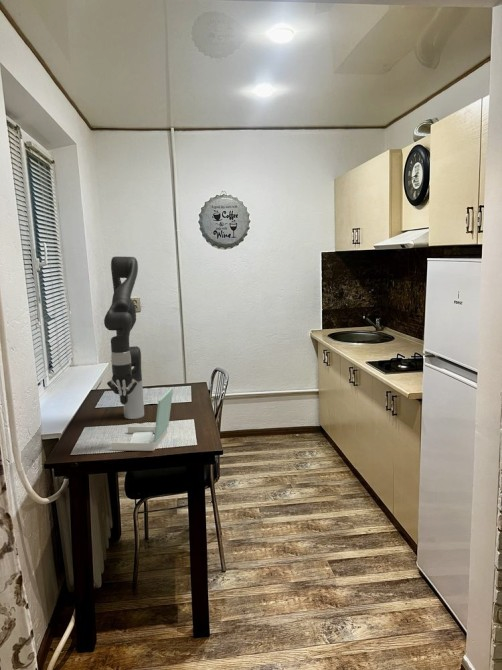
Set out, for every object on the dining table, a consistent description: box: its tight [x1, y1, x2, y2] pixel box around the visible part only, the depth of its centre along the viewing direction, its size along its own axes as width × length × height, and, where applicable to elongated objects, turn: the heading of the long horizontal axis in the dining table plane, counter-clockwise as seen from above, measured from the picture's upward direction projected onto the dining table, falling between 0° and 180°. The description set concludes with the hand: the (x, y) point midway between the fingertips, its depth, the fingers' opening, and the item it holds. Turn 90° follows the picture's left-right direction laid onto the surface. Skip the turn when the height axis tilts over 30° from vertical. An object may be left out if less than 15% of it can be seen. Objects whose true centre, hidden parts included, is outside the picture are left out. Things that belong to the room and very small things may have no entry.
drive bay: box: [110, 425, 168, 452], centre depth 198 cm, size 19×17×3 cm
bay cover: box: [153, 387, 174, 443], centre depth 195 cm, size 18×17×1 cm
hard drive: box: [129, 432, 154, 442], centre depth 199 cm, size 2×8×12 cm
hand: (124, 403), depth 196 cm, fingers closed
